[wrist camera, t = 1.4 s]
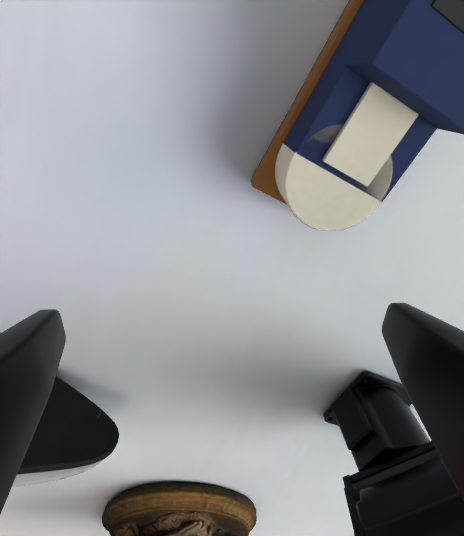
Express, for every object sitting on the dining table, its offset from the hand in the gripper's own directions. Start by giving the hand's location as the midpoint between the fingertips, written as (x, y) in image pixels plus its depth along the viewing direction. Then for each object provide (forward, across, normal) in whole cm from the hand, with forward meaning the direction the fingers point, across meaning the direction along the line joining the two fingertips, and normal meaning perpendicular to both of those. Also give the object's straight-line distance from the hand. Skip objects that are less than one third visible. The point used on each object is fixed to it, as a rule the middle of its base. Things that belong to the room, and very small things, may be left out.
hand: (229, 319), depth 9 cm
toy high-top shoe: (+13, -8, -6) cm, 17 cm away
